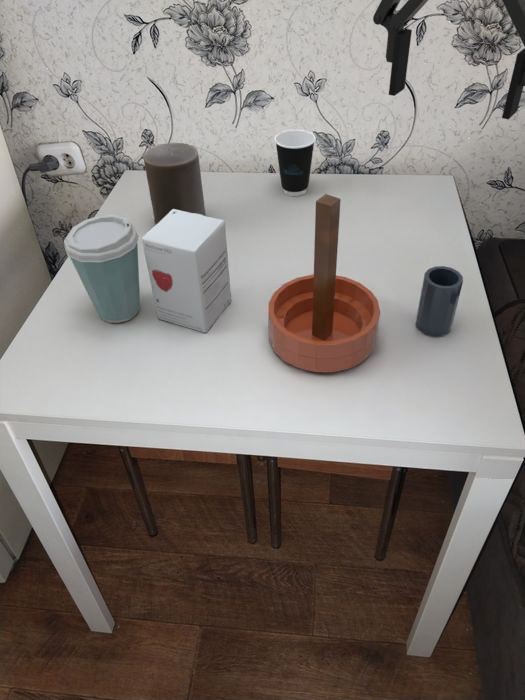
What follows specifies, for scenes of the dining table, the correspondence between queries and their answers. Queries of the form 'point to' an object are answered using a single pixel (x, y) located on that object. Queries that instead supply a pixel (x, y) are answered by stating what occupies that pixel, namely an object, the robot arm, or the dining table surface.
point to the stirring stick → (325, 264)
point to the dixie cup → (295, 160)
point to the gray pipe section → (438, 300)
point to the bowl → (348, 325)
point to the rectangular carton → (188, 269)
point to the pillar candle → (174, 179)
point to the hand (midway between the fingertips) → (450, 103)
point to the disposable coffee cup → (107, 264)
